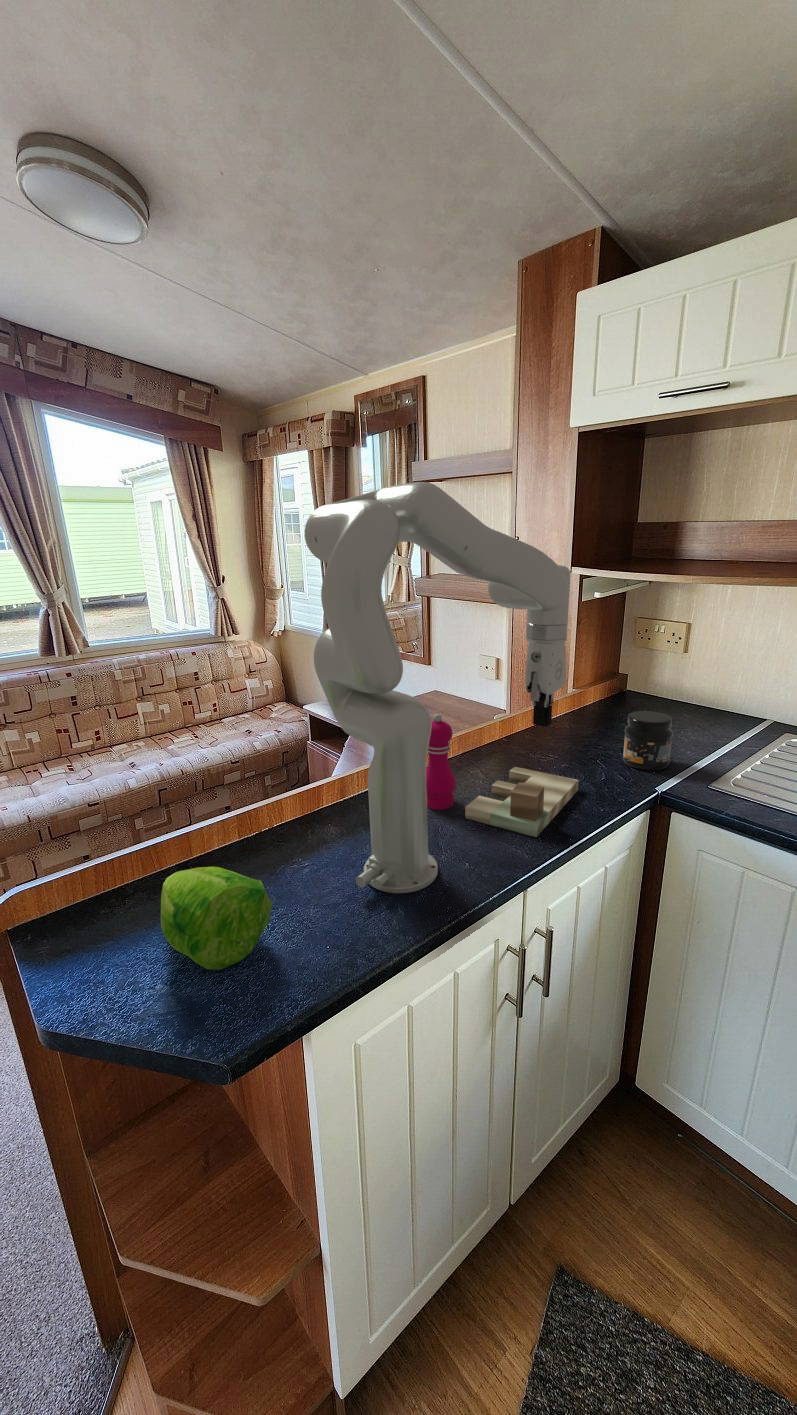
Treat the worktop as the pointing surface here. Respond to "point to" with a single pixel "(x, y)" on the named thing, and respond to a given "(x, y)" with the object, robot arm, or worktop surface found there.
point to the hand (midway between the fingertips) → (542, 724)
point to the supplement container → (648, 740)
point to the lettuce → (213, 915)
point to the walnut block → (527, 801)
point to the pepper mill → (439, 766)
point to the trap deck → (498, 803)
